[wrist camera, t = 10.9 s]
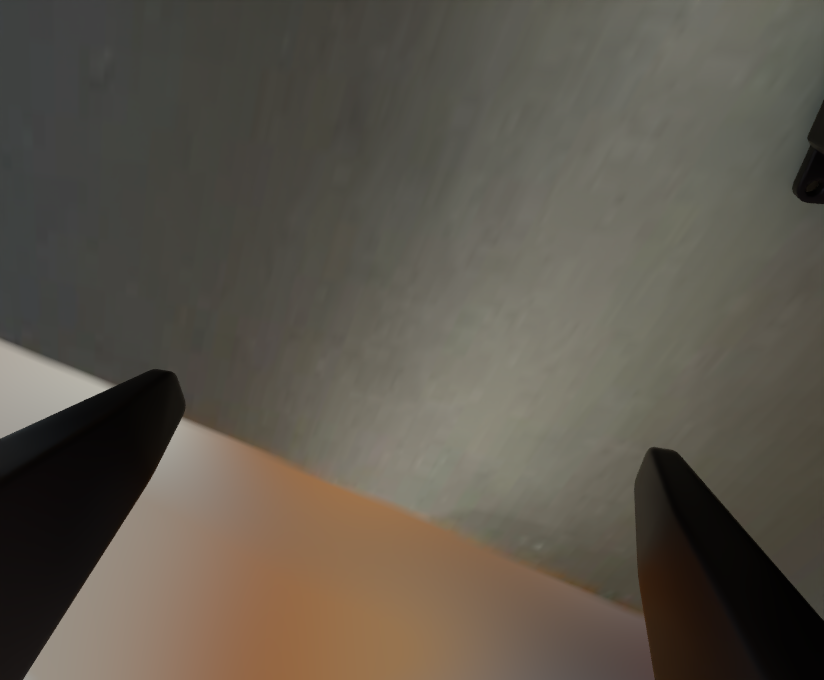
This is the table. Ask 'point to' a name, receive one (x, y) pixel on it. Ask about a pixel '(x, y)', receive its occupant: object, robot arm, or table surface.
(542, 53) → the table surface
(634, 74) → the table surface
